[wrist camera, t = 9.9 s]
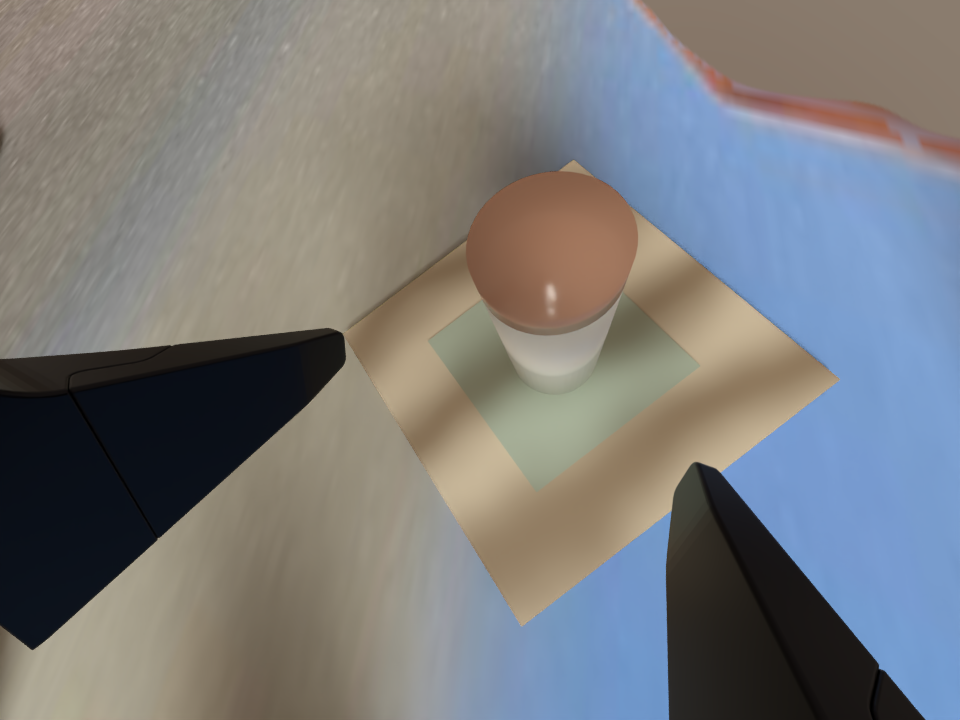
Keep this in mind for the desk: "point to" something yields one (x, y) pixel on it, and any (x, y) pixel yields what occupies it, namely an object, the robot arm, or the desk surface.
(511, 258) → the tube
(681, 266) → the board
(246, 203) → the desk surface
